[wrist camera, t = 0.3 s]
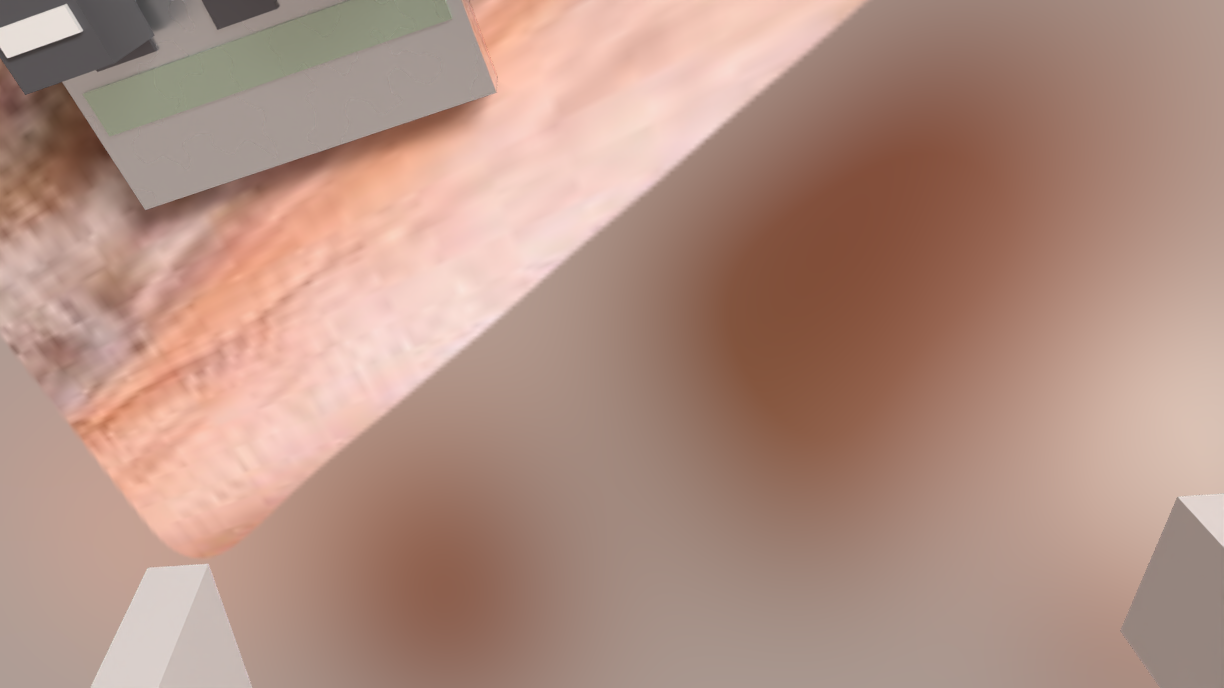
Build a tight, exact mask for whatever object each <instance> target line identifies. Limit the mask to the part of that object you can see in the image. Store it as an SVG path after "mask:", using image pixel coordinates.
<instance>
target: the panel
mask: <svg viewBox="0 0 1224 688" xmlns="http://www.w3.org/2000/svg"><path fill="white" fill-rule="evenodd" d="M135 2H136V3H137V5H138V7H139V9H140V10H141V12H142V14H143V16H144V17H145V19H146V21H147V23H148V24H149V26H150V28H151V30H152V31H153V33H154V35H155V36H154V37H152V38H151V39H149V40H148V41H146V42H145V43H143V44H142V45H141V46H139V47H138V48H136V49H135V50H133V51H132V52H130V53H129V54H128V55H126V56H125V57H123V58H122V59H120V60H119V61H117V62H116V63H114V64H112V65H109V66H106V67H103V68H100V69H97V70H94V71H92V72H89V73H86V74H83V75H80V76H77V77H75V78H72V79H69V80H66V81H63V82H62V83H63V84H64V86H65V87H66V89H67V90H68V92H69V93H70V95H71V96H72V98H73V99H74V101H75V103H76V104H77V106H78V107H79V109H80V110H81V112H82V113H83V115H84V116H85V118H86V120H87V121H88V123H89V124H90V126H91V127H92V129H93V130H94V132H95V133H96V135H97V137H98V138H99V140H100V141H101V143H102V144H103V146H104V147H105V149H106V150H107V152H108V154H109V155H110V157H111V158H112V160H113V161H114V163H115V164H116V166H117V167H118V169H119V170H120V172H121V174H122V175H123V177H124V178H125V180H126V181H127V183H128V184H129V186H130V187H131V189H132V191H133V192H134V194H135V195H136V197H137V198H138V200H139V201H140V203H141V204H142V206H143V208H144V209H145V210H147V209H150V208H153V207H156V206H159V205H162V204H165V203H168V202H171V201H174V200H177V199H180V198H183V197H186V196H189V195H192V194H195V193H198V192H201V191H204V190H207V189H210V188H213V187H216V186H219V185H222V184H225V183H228V182H231V181H234V180H237V179H240V178H243V177H246V176H249V175H252V174H255V173H258V172H261V171H264V170H267V169H269V168H272V167H275V166H278V165H281V164H284V163H287V162H290V161H293V160H296V159H299V158H302V157H305V156H308V155H311V154H314V153H317V152H320V151H323V150H326V149H329V148H332V147H335V146H338V145H341V144H344V143H347V142H350V141H353V140H356V139H359V138H362V137H365V136H368V135H371V134H374V133H377V132H380V131H383V130H386V129H389V128H392V127H395V126H398V125H401V124H404V123H407V122H410V121H413V120H416V119H419V118H422V117H425V116H428V115H431V114H434V113H437V112H440V111H443V110H446V109H449V108H452V107H455V106H458V105H461V104H464V103H467V102H470V101H473V100H476V99H479V98H482V97H485V96H488V95H491V94H494V93H497V82H498V76H497V73H496V71H495V68H494V65H493V63H492V60H491V57H490V55H489V52H488V49H487V47H486V44H485V41H484V39H483V36H482V33H481V31H480V28H479V26H478V23H477V20H476V18H475V15H474V12H473V10H472V7H471V4H470V2H469V0H135Z"/></svg>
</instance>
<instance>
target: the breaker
mask: <svg viewBox="0 0 1224 688" xmlns="http://www.w3.org/2000/svg"><path fill="white" fill-rule="evenodd" d="M154 36H155V35H154V33H153V31H152V30H151V28H150V26H149V24H148V23H147V21H146V19H145V17H144V16H143V14H142V12H141V10H140V9H139V7H138V5H137V3H136V2H135V0H0V58H1V60H2V61H3V63H4V64H5V65H6V67H7V68H8V70H9V71H10V73H11V74H12V76H13V77H14V79H15V80H16V82H17V83H18V85H19V86H20V88H21V89H22V91H23V92H24V94H25V95H26V94H29V93H32V92H35V91H38V90H40V89H43V88H46V87H49V86H52V85H55V84H58V83H60V82H63V81H66V80H69V79H72V78H75V77H77V76H80V75H83V74H86V73H89V72H92V71H94V70H97V69H100V68H103V67H106V66H109V65H112V64H114V63H116V62H117V61H119V60H120V59H122V58H123V57H125V56H126V55H128V54H129V53H130V52H132V51H133V50H135V49H136V48H138V47H139V46H141V45H142V44H143V43H145V42H146V41H148V40H149V39H151V38H152V37H154Z"/></svg>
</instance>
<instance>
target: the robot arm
mask: <svg viewBox="0 0 1224 688" xmlns="http://www.w3.org/2000/svg"><path fill="white" fill-rule="evenodd" d="M1120 631H1121V633H1122V634H1123V636H1124V637H1125V638H1126V640H1127V641H1128V643H1129V644H1130V646H1131V647H1132V649H1133V650H1134V651H1135V653H1136V654H1137V656H1138V657H1139V658H1140V660H1141V661H1142V663H1143V664H1144V665H1145V667H1146V669H1147V670H1148V671H1149V673H1150V674H1151V676H1152V677H1153V678H1154V680H1155V681H1156V683H1157V684H1158V686H1159V687H1160V688H1224V494H1212V495H1196V496H1182V497H1177V499H1176V501H1175V504H1174V506H1173V508H1172V511H1171V513H1170V516H1169V518H1168V520H1167V523H1166V525H1165V527H1164V530H1163V532H1162V534H1161V537H1160V539H1159V542H1158V544H1157V546H1156V548H1155V551H1154V553H1153V555H1152V558H1151V560H1150V563H1149V565H1148V567H1147V570H1146V572H1145V574H1144V576H1143V579H1142V581H1141V583H1140V586H1139V588H1138V590H1137V593H1136V595H1135V597H1134V600H1133V602H1132V605H1131V607H1130V609H1129V612H1128V614H1127V616H1126V619H1125V621H1124V623H1123V626H1122V628H1121V630H1120ZM90 688H252V685H251V682H250V680H249V677H248V674H247V671H246V668H245V665H244V663H243V660H242V657H241V654H240V651H239V649H238V646H237V643H236V640H235V637H234V634H233V632H232V629H231V626H230V623H229V620H228V617H227V615H226V612H225V609H224V606H223V604H222V600H221V598H220V595H219V592H218V589H217V586H216V584H215V581H214V578H213V575H212V572H211V570H210V567H209V564H197V565H184V566H183V565H182V566H168V567H153V568H147V570H146V573H145V575H144V577H143V579H142V581H141V583H140V585H139V587H138V589H137V591H136V593H135V595H134V598H133V600H132V602H131V604H130V606H129V608H128V610H127V612H126V614H125V616H124V618H123V621H122V623H121V625H120V627H119V629H118V631H117V633H116V635H115V637H114V639H113V641H112V643H111V646H110V648H109V650H108V652H107V654H106V656H105V658H104V660H103V662H102V664H101V666H100V668H99V671H98V673H97V675H96V677H95V679H94V681H93V683H92V685H91V687H90Z"/></svg>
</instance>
